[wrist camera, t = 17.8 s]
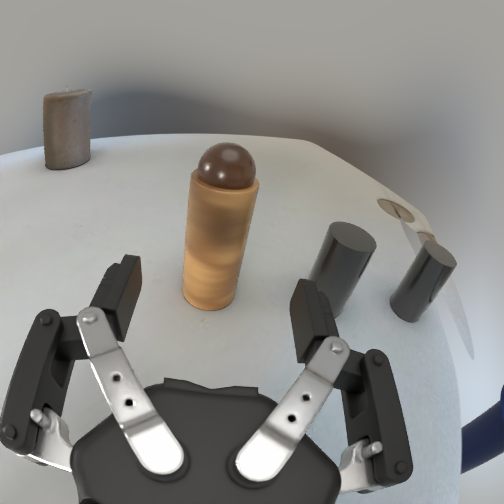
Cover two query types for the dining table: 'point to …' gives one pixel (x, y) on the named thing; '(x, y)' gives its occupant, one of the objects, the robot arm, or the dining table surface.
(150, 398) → the robot arm
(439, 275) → the dark grey upright cylinder
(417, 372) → the dining table surface
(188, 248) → the pepper mill
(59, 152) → the pillar candle
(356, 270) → the grey upright cylinder
